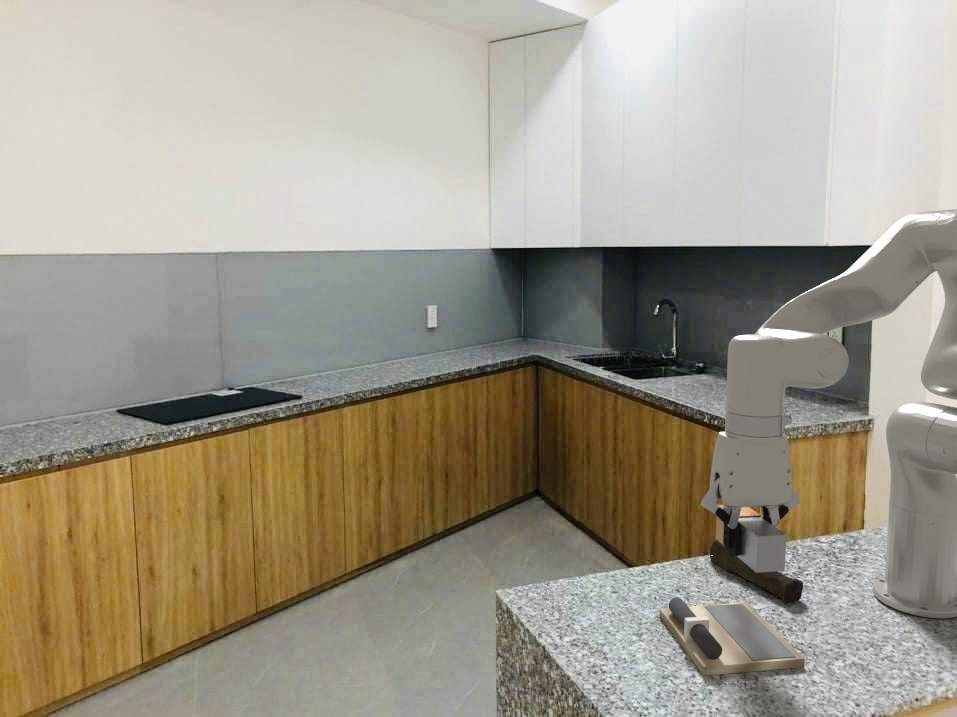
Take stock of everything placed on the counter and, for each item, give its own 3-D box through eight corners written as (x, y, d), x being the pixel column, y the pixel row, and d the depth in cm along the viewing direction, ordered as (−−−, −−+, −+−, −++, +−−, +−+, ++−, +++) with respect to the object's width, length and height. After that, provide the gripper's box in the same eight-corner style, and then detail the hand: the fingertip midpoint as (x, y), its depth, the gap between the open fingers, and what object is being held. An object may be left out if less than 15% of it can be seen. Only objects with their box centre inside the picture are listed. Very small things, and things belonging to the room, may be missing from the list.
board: (746, 609, 111) (746, 601, 110) (804, 667, 95) (804, 657, 95) (659, 616, 109) (659, 608, 109) (703, 675, 93) (703, 666, 93)
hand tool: (804, 602, 113) (806, 574, 113) (785, 607, 112) (786, 579, 111) (722, 558, 131) (723, 534, 130) (704, 561, 129) (705, 537, 128)
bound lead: (686, 614, 108) (686, 593, 107) (724, 662, 95) (725, 638, 95) (665, 616, 108) (666, 595, 107) (701, 663, 95) (702, 640, 94)
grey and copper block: (742, 536, 107) (743, 503, 106) (785, 570, 95) (787, 533, 94) (715, 538, 106) (716, 504, 106) (755, 572, 94) (757, 535, 94)
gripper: (796, 417, 103) (790, 538, 105) (684, 420, 101) (680, 544, 103) (827, 428, 95) (820, 559, 98) (707, 433, 93) (702, 565, 96)
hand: (748, 550), depth 100 cm, fingers closed on grey and copper block, 4 cm apart
